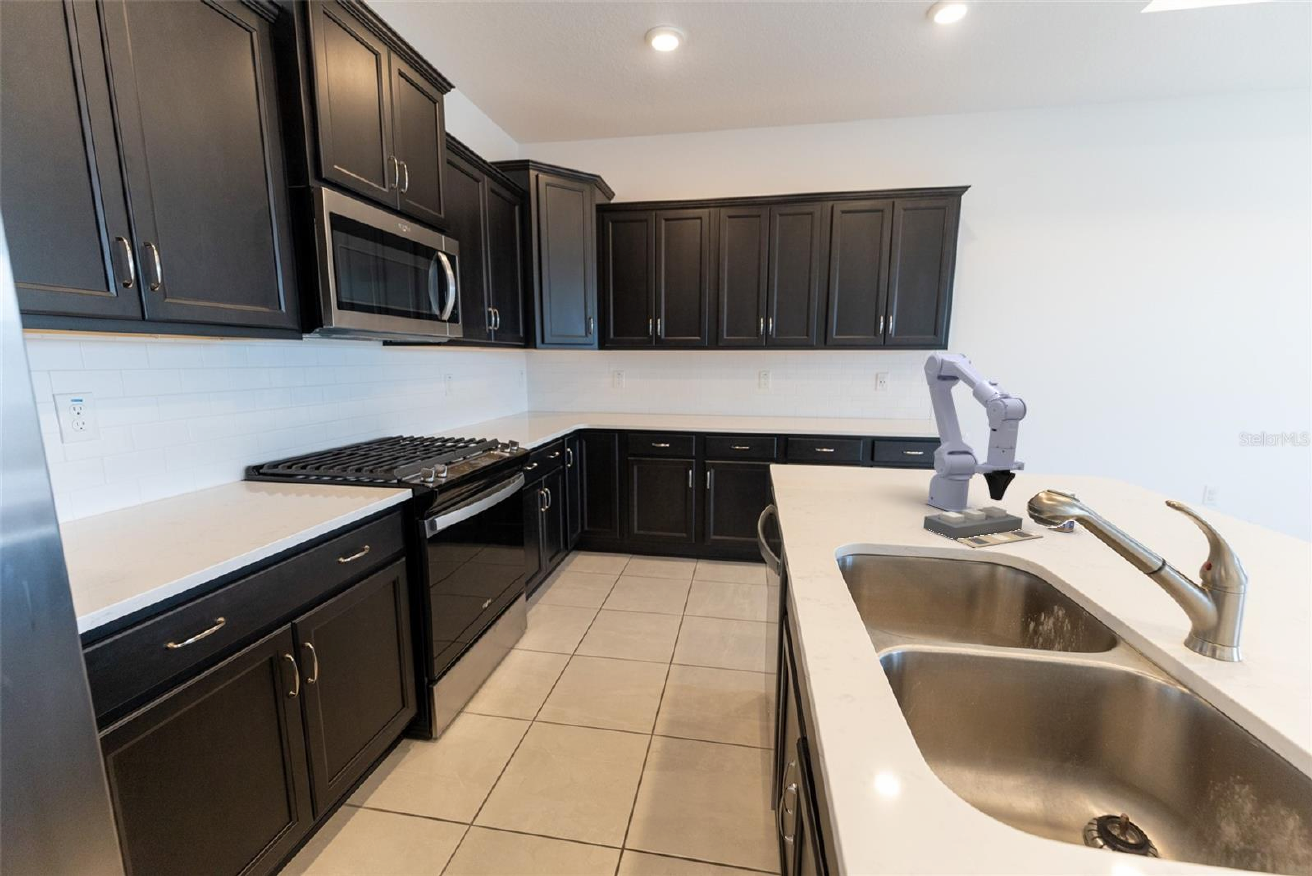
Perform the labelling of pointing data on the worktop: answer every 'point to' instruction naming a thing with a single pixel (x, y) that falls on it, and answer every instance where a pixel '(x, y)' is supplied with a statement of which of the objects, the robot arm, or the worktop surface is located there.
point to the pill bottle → (1070, 524)
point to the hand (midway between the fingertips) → (995, 499)
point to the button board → (973, 526)
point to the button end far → (994, 512)
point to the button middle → (974, 514)
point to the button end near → (952, 517)
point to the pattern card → (998, 538)
